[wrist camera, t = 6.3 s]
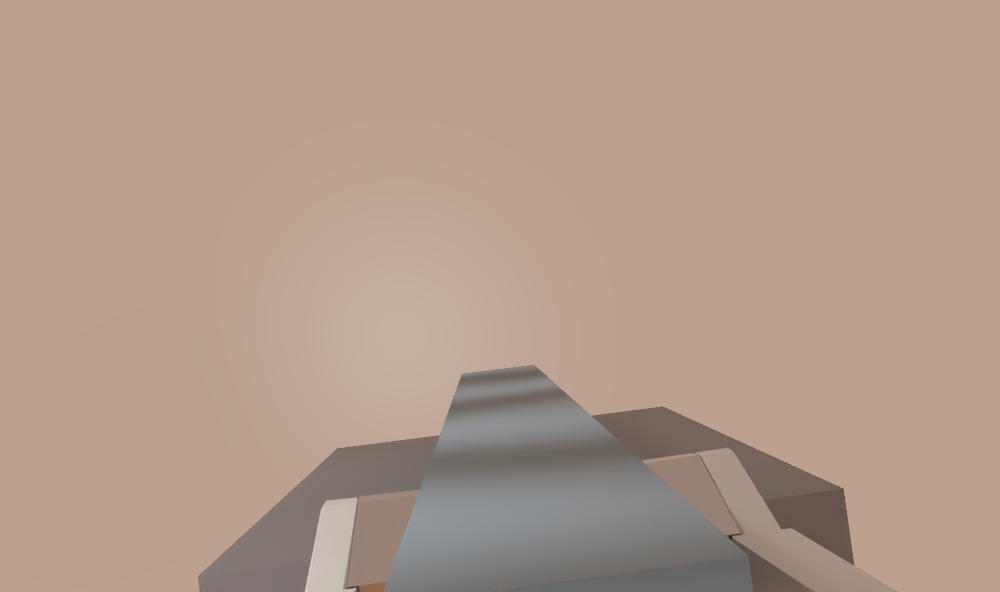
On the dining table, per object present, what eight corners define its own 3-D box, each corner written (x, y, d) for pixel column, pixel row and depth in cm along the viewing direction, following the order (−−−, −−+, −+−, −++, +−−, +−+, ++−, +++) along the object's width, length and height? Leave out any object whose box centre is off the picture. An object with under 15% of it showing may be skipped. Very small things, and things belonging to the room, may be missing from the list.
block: (790, 872, 5) (748, 555, 5) (415, 928, 5) (377, 605, 5) (541, 425, 27) (534, 364, 27) (469, 434, 27) (462, 373, 27)
